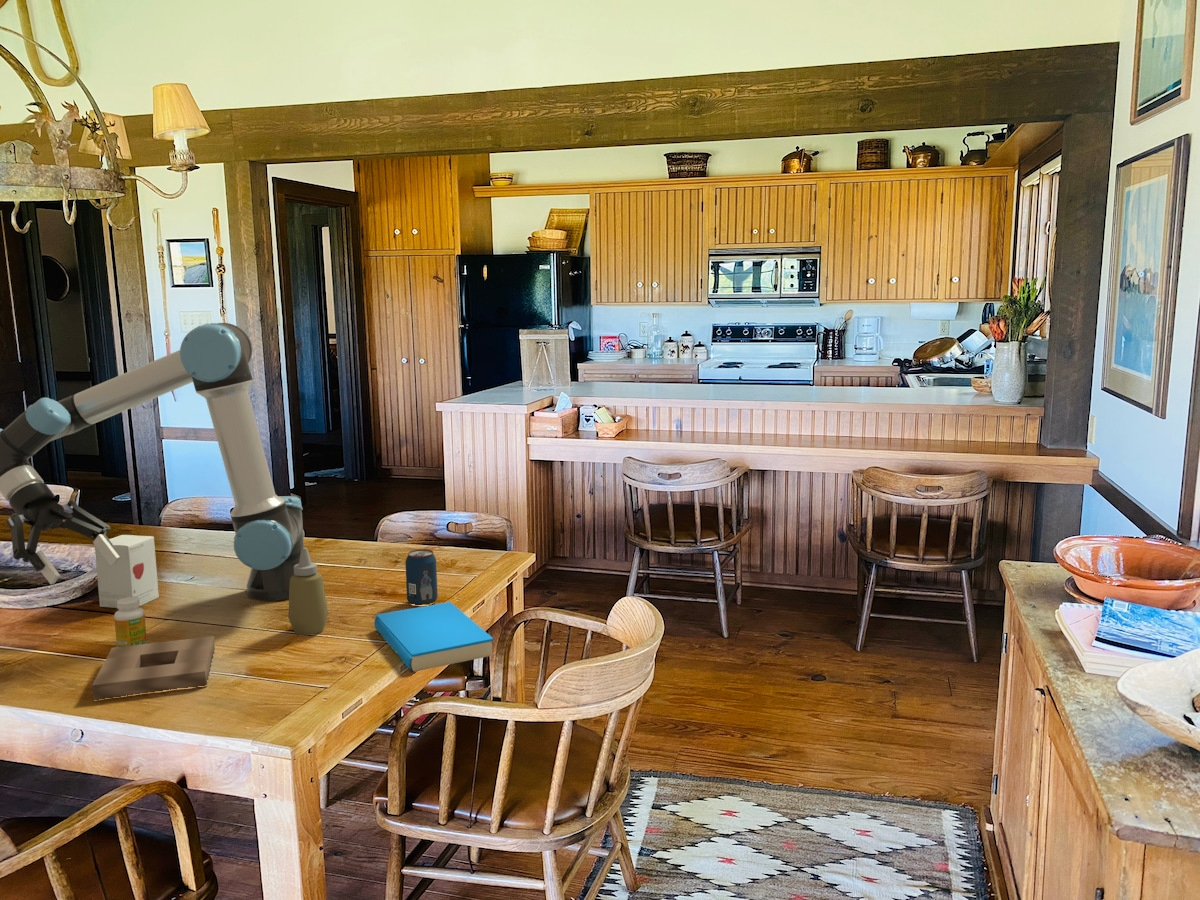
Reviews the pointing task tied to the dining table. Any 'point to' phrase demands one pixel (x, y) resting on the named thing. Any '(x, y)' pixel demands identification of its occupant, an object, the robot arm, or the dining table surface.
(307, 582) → the squeeze bottle
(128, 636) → the supplement bottle
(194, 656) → the socket stand
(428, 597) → the soda can
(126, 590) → the supplement box
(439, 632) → the book
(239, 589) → the dining table surface
